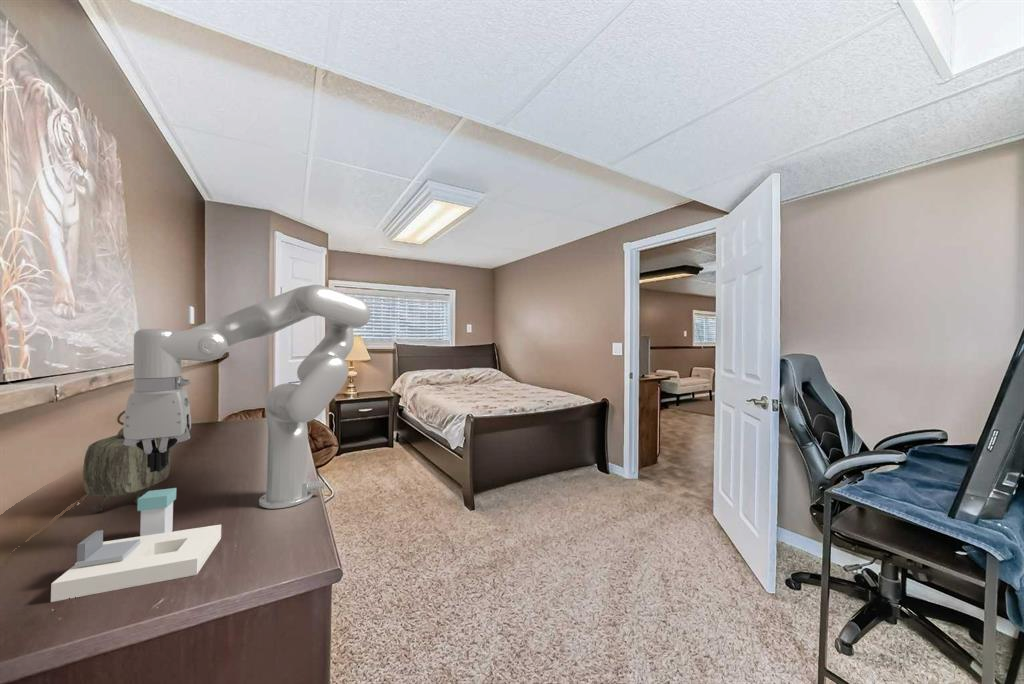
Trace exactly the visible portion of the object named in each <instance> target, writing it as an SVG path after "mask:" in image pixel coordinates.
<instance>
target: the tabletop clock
mask: <svg viewBox="0 0 1024 684" xmlns="http://www.w3.org/2000/svg"><path fill="white" fill-rule="evenodd" d="M123 415H125V410H124V411H122V412H120V414H118V415H117V418H116V421H117V424H119V425H121V426H124V421H120V419H121V417H122V416H123ZM123 428H124V427H122V428H121V429H120V430H119V431H118V433H117V434H115V435H112V436H110V437H106V438H101V439H100V440H96V441H95V442H93V443H90V444H89V445H88V447H87V449H86V451H85V455H84V461H83V470H82V477H83V487H84V490H85V493H86V495H87V496H92V497H93V496H95V497H96V496H98V497H99V496H101V497H102V496H103V497H104V498H103V499H102V500H101V502H100V504H98V505H95V506H94V507H93V509H92V510H93V513H99V512H101V511H102V510H103V506H104V504H106V502H108V500H110V498H112V497H125V496H129V495H132V494H134V495H135V497H136V498H135V499H134V501H133V502H134V505H135V504H136V505H138V499H139V498H140V497H141V496H143V495H144V494H145V493H147V490H148V489H149V488H151V487H153V486H155V485H157V484H160V483H161V482H163V481H165V480H166V479H167V478H168V477H169V475H170V470H171V461H172V453H171V451H172V447H171V448H170V449H169V454H168V465H167V466H166V467H165V468H164V469H163V470H161V471H159V472H157V471H155V472H150V468H148V467H147V454H146V453H145V452H144V451H143V450H142V449H140V448H139V447H137V446H125V445H124V440H125V438H124V433H123ZM160 442H161V438H160V439H156V443H157V448H158V450H159V448H160Z"/></svg>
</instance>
